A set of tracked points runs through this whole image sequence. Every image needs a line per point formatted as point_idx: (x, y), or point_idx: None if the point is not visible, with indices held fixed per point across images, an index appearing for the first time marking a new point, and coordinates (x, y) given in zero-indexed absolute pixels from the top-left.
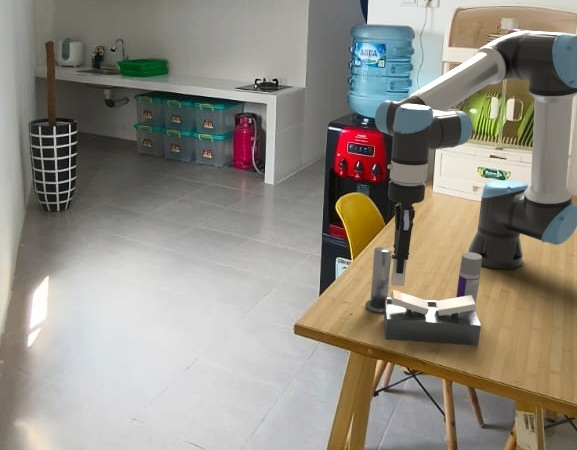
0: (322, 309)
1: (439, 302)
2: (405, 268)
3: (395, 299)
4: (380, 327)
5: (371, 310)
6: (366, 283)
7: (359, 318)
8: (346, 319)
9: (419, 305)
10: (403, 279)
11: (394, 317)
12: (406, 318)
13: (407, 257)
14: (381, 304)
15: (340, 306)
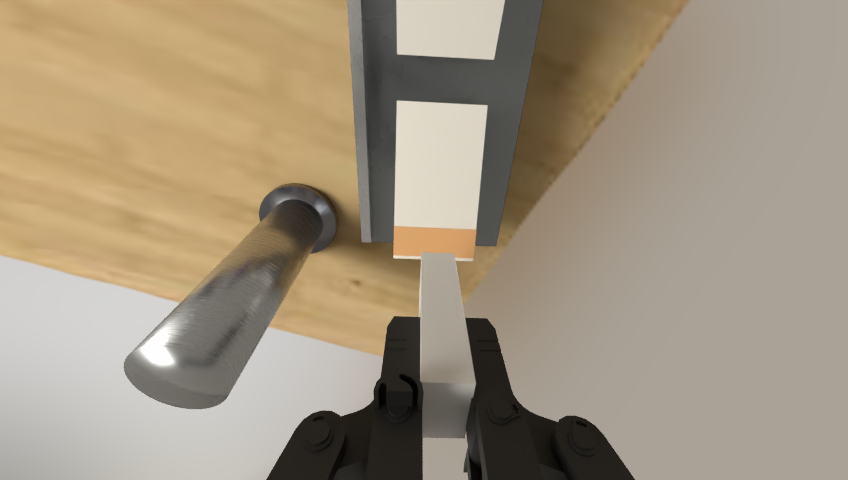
0: (347, 333)
1: (419, 35)
2: (465, 323)
3: (473, 254)
4: None
5: (332, 239)
6: (144, 237)
7: (376, 265)
8: (386, 292)
9: (473, 150)
10: (457, 279)
11: (485, 224)
12: (491, 187)
13: (611, 452)
14: (316, 223)
15: (321, 301)
